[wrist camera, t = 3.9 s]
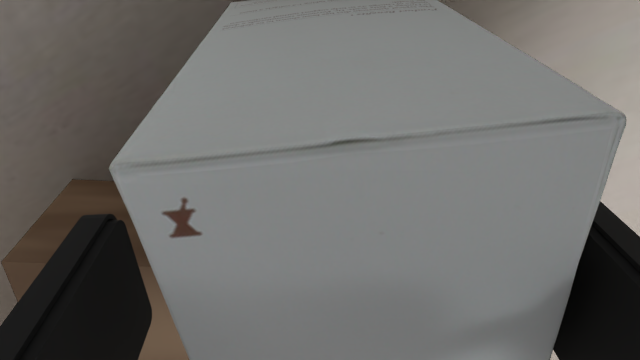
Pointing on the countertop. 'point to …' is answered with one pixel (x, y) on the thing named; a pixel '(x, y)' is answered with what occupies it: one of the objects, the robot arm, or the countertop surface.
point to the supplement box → (365, 186)
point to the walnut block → (52, 228)
